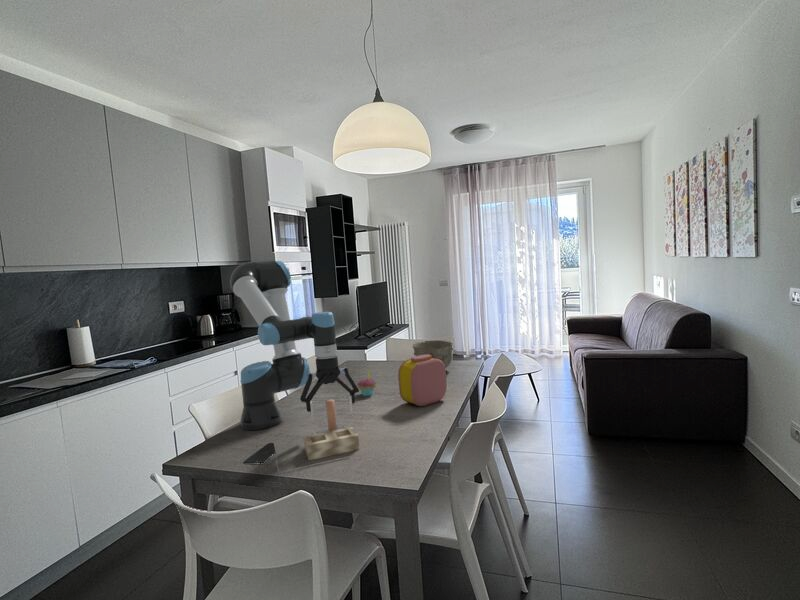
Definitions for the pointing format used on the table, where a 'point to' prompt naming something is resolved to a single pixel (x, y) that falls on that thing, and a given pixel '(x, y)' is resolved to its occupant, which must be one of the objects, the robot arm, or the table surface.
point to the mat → (328, 431)
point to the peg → (331, 415)
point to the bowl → (435, 350)
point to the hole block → (331, 443)
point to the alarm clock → (422, 380)
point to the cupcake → (367, 386)
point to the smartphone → (262, 454)
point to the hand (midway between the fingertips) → (332, 416)
